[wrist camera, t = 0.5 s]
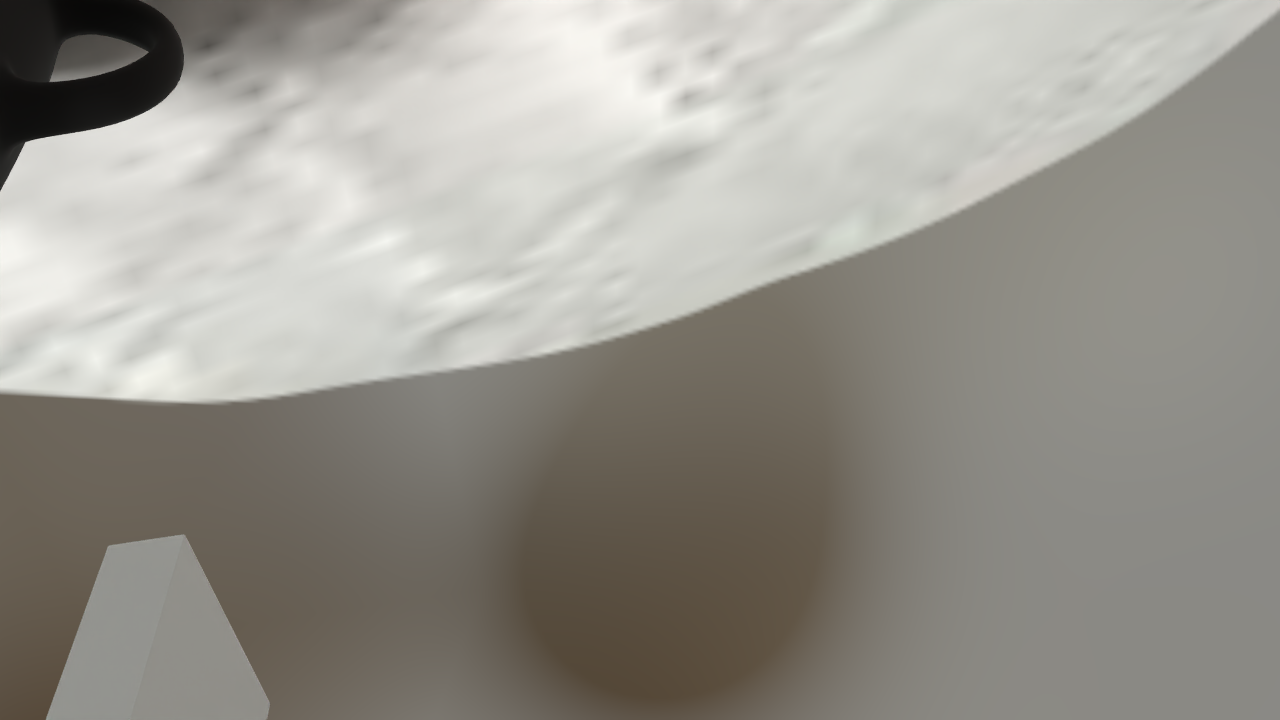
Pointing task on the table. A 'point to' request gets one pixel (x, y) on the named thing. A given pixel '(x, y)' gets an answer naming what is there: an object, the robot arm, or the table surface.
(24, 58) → the mug
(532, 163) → the table surface
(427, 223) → the table surface
